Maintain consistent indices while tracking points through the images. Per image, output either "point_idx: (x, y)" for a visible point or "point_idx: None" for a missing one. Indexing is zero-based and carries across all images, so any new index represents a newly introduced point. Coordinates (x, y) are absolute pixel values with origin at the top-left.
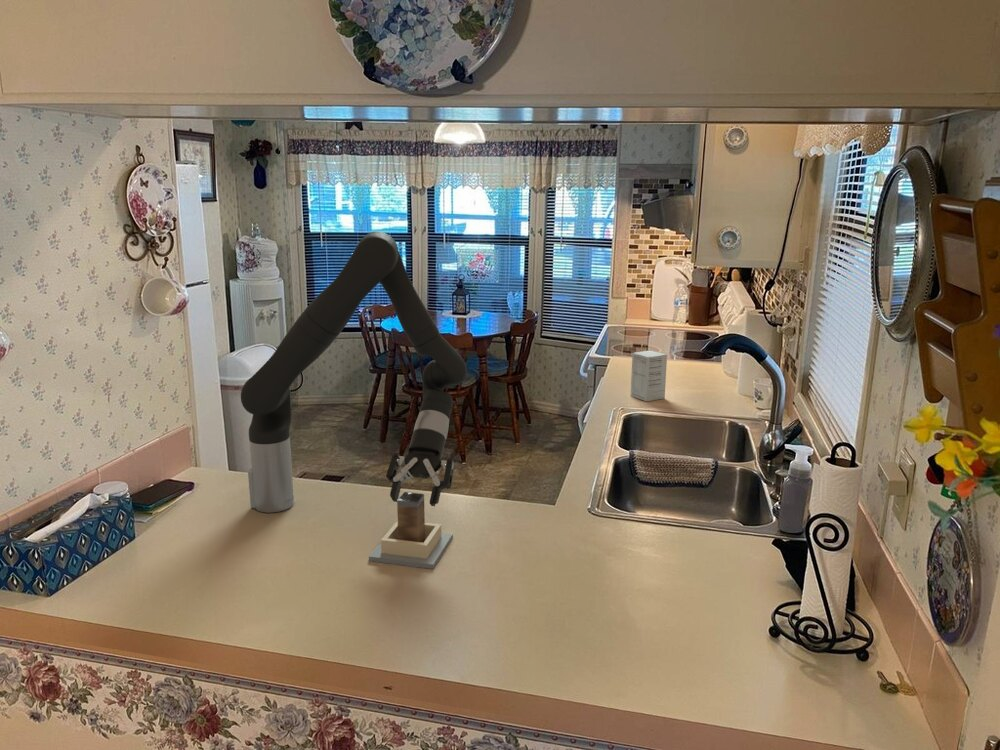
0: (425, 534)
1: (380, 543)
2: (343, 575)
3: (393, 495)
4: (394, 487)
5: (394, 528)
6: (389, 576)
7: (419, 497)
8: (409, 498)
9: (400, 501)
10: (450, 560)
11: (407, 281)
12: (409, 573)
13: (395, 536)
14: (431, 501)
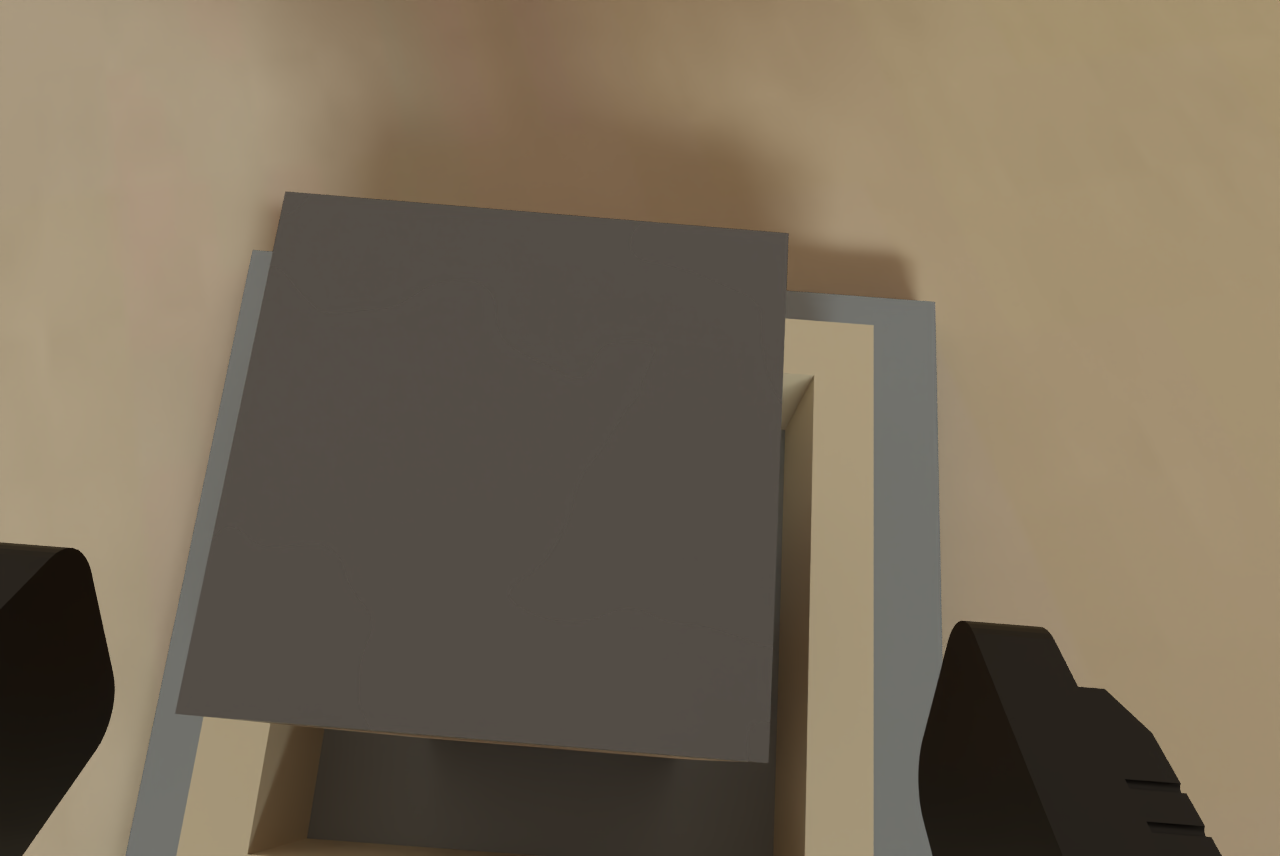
0: (436, 851)
1: (929, 589)
2: (1026, 70)
3: (1021, 650)
4: (1140, 836)
5: (821, 663)
6: (637, 108)
7: (275, 474)
8: (519, 367)
9: (702, 237)
10: (112, 458)
11: None
12: (475, 175)
13: (789, 670)
14: (14, 551)
